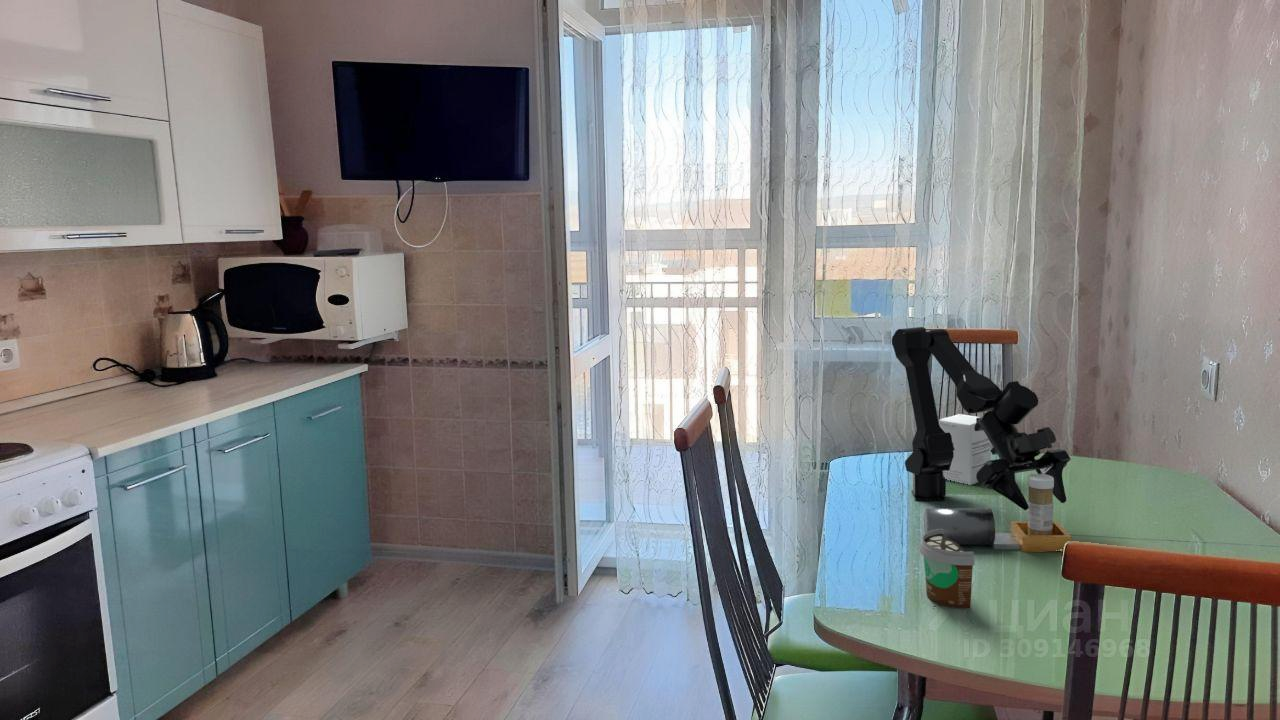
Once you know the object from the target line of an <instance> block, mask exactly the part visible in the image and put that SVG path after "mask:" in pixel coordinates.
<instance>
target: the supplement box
mask: <svg viewBox="0 0 1280 720" xmlns="http://www.w3.org/2000/svg"><path fill="white" fill-rule="evenodd" d="M980 417H981V416H977V415H976V416H975V415H968V414H962V413H957V414H955V415H951V416H946V417H943V418H940V419H938V420H939V425H940V427H941V428H942V429H943V431H944V432H945V433H948V432H949V433H950V434H951V436H952V444H953V447H954V449H955V450H953V452H954V457H953V459H952V463H951V466H950V470H949V471H943V476H944V477H945V479H947V480H946V481H950V480H951V481H950V482H954V481H955V483H958V482H959V483H960V484H963V483H964V484H963V485H967V484H968V486H972V485H975V484H977V483H978V484H979V482H978V481H977V479H976V475H977V472H978V471H979V470H980V469H981V468H982V467H983V465H984V464H985V463H986V462H987V461H990V460H992V458H991V456H992V455H991V454H992V453H991V449H992V448H991V446H992V444H991V442H990V441H989V439H988V437H987V436H986V434H985V432H984V430H982V431H975V430H974V427H975V424H976V419H977V418H980Z"/></svg>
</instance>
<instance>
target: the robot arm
mask: <svg viewBox="0 0 1280 720" xmlns="http://www.w3.org/2000/svg"><path fill="white" fill-rule="evenodd" d="M891 345H892V348H893V351H894V354H895V355H894V356H895V357H896V359H897V360H898V361H899V362H900V364H901V365H903V367H904V368H905V373H906V379H907V384H908V389H909V395H910V400H911V404H912V405H911V406H912V409H913V415H914V421H915V425H916V426H915V427H916V431H915V434H914V436H913V439H912V445H911V446H912V451H911V454H910V455H909V456H908V457H907V459H905V461H904V467H905V470H906V472H909V473H911V474H912V490H911V494H913V495H912V496H914V497H913V499H914V498H915V499H914V500H915V501H946V498H945V496H946V495H947V487H946V486H947V480H946V479H945V477H944V476H943V471H949V470H950V466H951V463H952V459H953V457H954V452H953V450H955V449H954V447H953V444H952V436H951V434H950V433H949V432H948V433H945V432H944V431H943V429H942V428H941V427H940V425H939V420H940V419H939V417H938V415H939V414H938V411H937V406H936V400H935V396H934V390H933V385H932V379H931V375H930V370H929V361H930V359H931V356H933V357H934V358H935V360H937V363H939V365H940V367H941V368H942V369H943V370H944V372H945V373H946V375H948V377H949V379H950V380H951V381H952V382H953V384H954V386H955V387H956V390H955V393H956V395H955V396H956V397H957V399H958V401H959V403H960V405H961V407H962V408H963V410H964V411H965V412H966V413H967V414H979V413H984V414H983V415H982V417H981V416H979V417H980V418H977V419H976V424H975V427H974V430H975V431H982V430H984V432H985V434H986V436H987V437H988V439H989V441H990V442H991V446H992V447H993V448H991V454H992V455H997V456H998V459H997V458H995V459H991V460H990V461H987V462H986V463H985V464H984V465H983V467H982V468H981V469H980V470H979V471H978V472H977V475H976V479H977V481H978V484H979V485H980V487H981V488H983V487H987V489H988V490H992V491H994V492H996V493H998V494H999V495H1001V496H1003V497H1005V498H1006V499H1008V500H1009V501H1011V502H1012V503H1014V504H1015V505H1017V506H1018V507H1019V508H1020V509H1022V510H1024V511H1028V508H1029V506H1028V500H1027V499H1026V498H1025V496H1024V494H1023V493H1022V490H1021V489H1020V487H1019V485H1018V483H1017V481H1016V474H1018V473H1019V474H1020V473H1024V472H1025V473H1026V472H1030V471H1035V472H1036V474H1046V475H1050V476H1052V477H1053V478H1054V487H1053V497H1055V498H1056V499H1057V500H1058V501H1059V503H1061V504H1065V503H1066V502H1067V496H1066V490H1065V484H1064V481H1063V480H1064V479H1063V471H1064V468H1065V467H1066V466H1067V464H1068V463H1069V462H1070V461H1071V460H1072V459H1071V457H1070V455H1069V454H1068V452H1067V451H1066V450H1065V449H1061V448H1060V449H1053V450H1048V451H1046V452H1045V453H1044V454H1043V455H1041V456H1040V458H1038V459H1036V457H1038V456H1039V455H1040V454H1041V450H1044V449H1051V448H1053V445H1052V444H1054V443H1056V441H1057V437H1056V434H1055V433H1054V431H1053V430H1052V429H1051V427H1050V426H1047V427H1042V428H1038V429H1037V430H1036V432H1033V433H1029V434H1027V433H1026V432H1025V431H1024V432H1020V431H1019V430H1018V428H1017V426H1016V425H1019V424H1021V423H1022V422H1023V421H1024V420H1025V419H1026V418H1027V417H1028V416H1029V415H1030V414H1031V413H1032V412H1033V410H1034V409H1036V407H1037V406H1038V404H1039V397H1038V396H1037V394H1036V392H1034V391H1033V390H1031V389H1030V388H1029V387H1027V386H1025V385H1021V384H1020V382H1019V381H1018V380H1013V381H1009V382H1007V384H1006V385H1005V387H1004V388H1003V390H1002V389H1000V387H999V385H997V384H996V383H995V382H994V381H993V380H991V379H990V378H989V377H987V376H986V375H983V374H981V373H979V372H978V371H977V370H976V369H975V368H974V367H973V365H971V363H970V362H969V361H968V359H966V357H965V356H964V354H963V353H962V351H960V350H959V348H958V347H957V345H956V344H955V343H954V342H953V341H952V339H951V338H950V335H949V332H948V331H947V330H946V329H944V328H934V329H928V330H927V329H926V327H923V326H919V327H907V328H898V329H897V330H895V332H894V333H893V336H892V338H891Z"/></svg>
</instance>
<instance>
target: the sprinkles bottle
mask: <svg viewBox="0 0 1280 720" xmlns="http://www.w3.org/2000/svg"><path fill="white" fill-rule="evenodd" d="M1027 487H1028V488H1027V489H1028V497H1027V498H1028V499H1027V504H1028V506H1029V508H1028V509H1027V522H1028V535H1052V528H1053V522H1054V521H1053V520H1054V517H1053V516H1054V501H1053V497H1054V495H1053V487H1054V478H1053V477H1052V476H1050V475H1046V474H1038V473H1032V474H1029V475H1028V476H1027Z"/></svg>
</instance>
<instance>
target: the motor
mask: <svg viewBox="0 0 1280 720" xmlns="http://www.w3.org/2000/svg"><path fill="white" fill-rule="evenodd" d="M993 512H994V511H993V510H992V508H991V507H925V508H924V511H923V531H924V534H925V533H927V532H929V531H933V530H937V529H943V533H944V535H945V536H946V537H947V538H948V539H950V540H952V541H954V542H956V543H957V544H958V545H968V546H969V545H971V546H973V545H978V546H979V545H983V546H985V545H988V546H989V545H990V546H991V547H992V549H994V550H1020V551H1021V552H1022V553H1048V552H1047V551H1056V550H1057V551H1058V550H1059V551H1060V549H1062V551H1061V552H1060V553H1064V552H1063V547H1064V544H1065V543H1066V542H1067V541H1071V542H1072V535H1070V534H1069V533H1068V532H1067V530H1066V529H1065V528H1063V526H1061V524H1060V523H1059V522H1058V521H1053V528H1052V535H1028V521H1013V520H1012V521H1010V533H1004V532H1003V533H1002V532H1001V533H1000V532H999V533H998V532H996V522H995V517H994V513H993ZM1044 551H1046V552H1044Z"/></svg>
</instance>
